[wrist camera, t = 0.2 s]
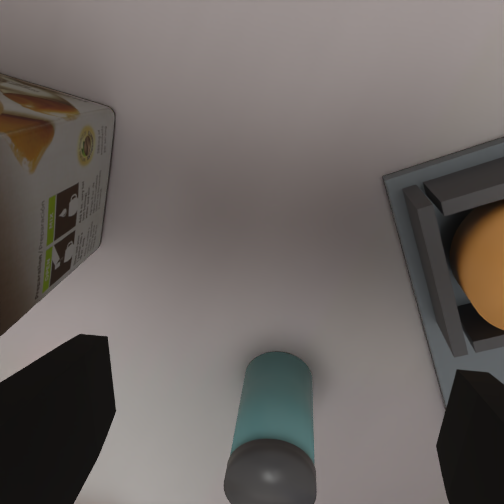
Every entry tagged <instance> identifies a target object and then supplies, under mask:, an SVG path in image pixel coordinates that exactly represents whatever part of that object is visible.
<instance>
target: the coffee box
mask: <svg viewBox="0 0 504 504" xmlns="http://www.w3.org/2000/svg"><path fill="white" fill-rule="evenodd" d="M114 121H115V116H114V112H113V111H112V109H111V108H109V107H107V106H104V105H101V104H98V103H95V102H92V101H88V100H85V99H82V98H78V97H75V96H72V95H69V94H66V93H62V92H59V91H56V90H52V89H49V88H46V87H42V86H39V85H36V84H33V83H29V82H26V81H23V80H19V79H16V78H13V77H10V76H6V75H3V74H0V336H1V335H2V334H4V333H5V332H6V331H7V330H8V329H9V328H10V327H11V326H12V325H13V324H15V323H16V322H17V321H18V320H19V319H20V318H21V317H22V316H23V315H25V314H26V313H27V312H28V311H29V310H30V309H31V308H32V307H33V306H34V305H35V304H36V303H38V302H39V301H40V300H41V299H42V298H44V297H45V296H46V295H47V294H48V293H49V292H50V291H51V290H52V289H54V288H55V287H56V286H57V285H58V284H59V283H60V282H61V281H62V280H63V279H64V278H66V277H67V276H68V275H69V274H70V273H71V272H72V271H73V270H75V269H76V268H77V267H78V266H79V265H80V264H81V263H82V262H84V261H85V260H86V259H87V258H88V257H89V256H90V255H91V254H92V253H94V251H95V250H96V249H97V248H98V247H99V245H100V239H101V231H102V224H103V216H104V207H105V199H106V192H107V184H108V176H109V168H110V158H111V149H112V140H113V131H114Z"/></svg>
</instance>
